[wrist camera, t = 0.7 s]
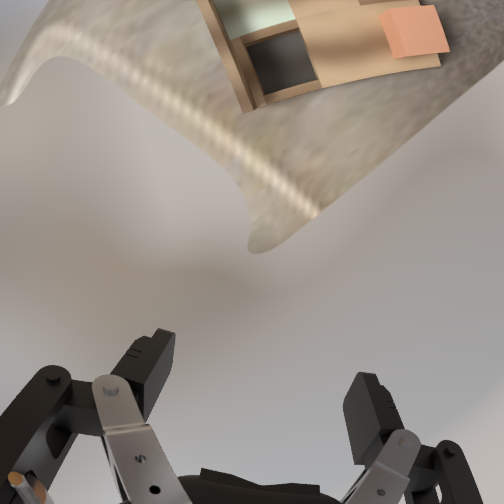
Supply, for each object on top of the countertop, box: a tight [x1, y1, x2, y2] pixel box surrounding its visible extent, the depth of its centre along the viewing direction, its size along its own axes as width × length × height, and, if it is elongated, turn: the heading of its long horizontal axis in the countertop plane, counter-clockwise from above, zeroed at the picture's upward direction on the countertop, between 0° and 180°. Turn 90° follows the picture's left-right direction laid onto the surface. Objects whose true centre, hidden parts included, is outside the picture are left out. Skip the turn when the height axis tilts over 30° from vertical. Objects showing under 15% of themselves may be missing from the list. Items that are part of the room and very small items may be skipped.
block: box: [379, 5, 450, 59], centre depth 21 cm, size 5×5×4 cm
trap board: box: [196, 0, 441, 114], centre depth 23 cm, size 16×22×6 cm
